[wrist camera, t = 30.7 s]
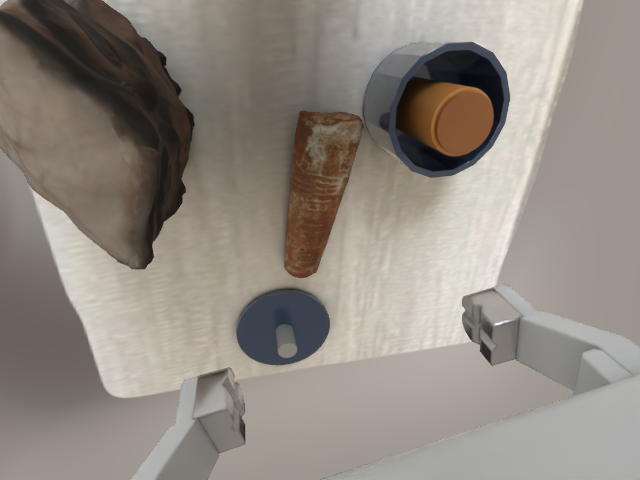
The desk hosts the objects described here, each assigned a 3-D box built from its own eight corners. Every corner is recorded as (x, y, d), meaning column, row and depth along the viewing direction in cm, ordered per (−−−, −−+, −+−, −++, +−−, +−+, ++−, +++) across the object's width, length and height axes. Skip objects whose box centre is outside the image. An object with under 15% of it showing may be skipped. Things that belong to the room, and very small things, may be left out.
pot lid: (230, 294, 45) (229, 320, 41) (327, 280, 47) (335, 303, 43) (243, 365, 51) (243, 394, 47) (328, 350, 53) (336, 376, 49)
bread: (356, 110, 38) (374, 121, 33) (316, 267, 46) (325, 294, 41) (297, 97, 36) (306, 106, 31) (266, 263, 44) (269, 290, 39)
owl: (96, -13, 29) (-108, -96, 12) (239, 82, 34) (242, 120, 17) (43, 125, 33) (-172, 216, 16) (179, 192, 38) (132, 316, 21)
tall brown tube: (392, 79, 36) (438, 89, 28) (444, 76, 37) (503, 85, 29) (389, 136, 39) (430, 161, 31) (438, 132, 40) (490, 155, 32)
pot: (364, 44, 35) (393, 45, 28) (471, 40, 37) (522, 40, 30) (361, 160, 40) (385, 182, 34) (455, 151, 42) (495, 171, 36)
